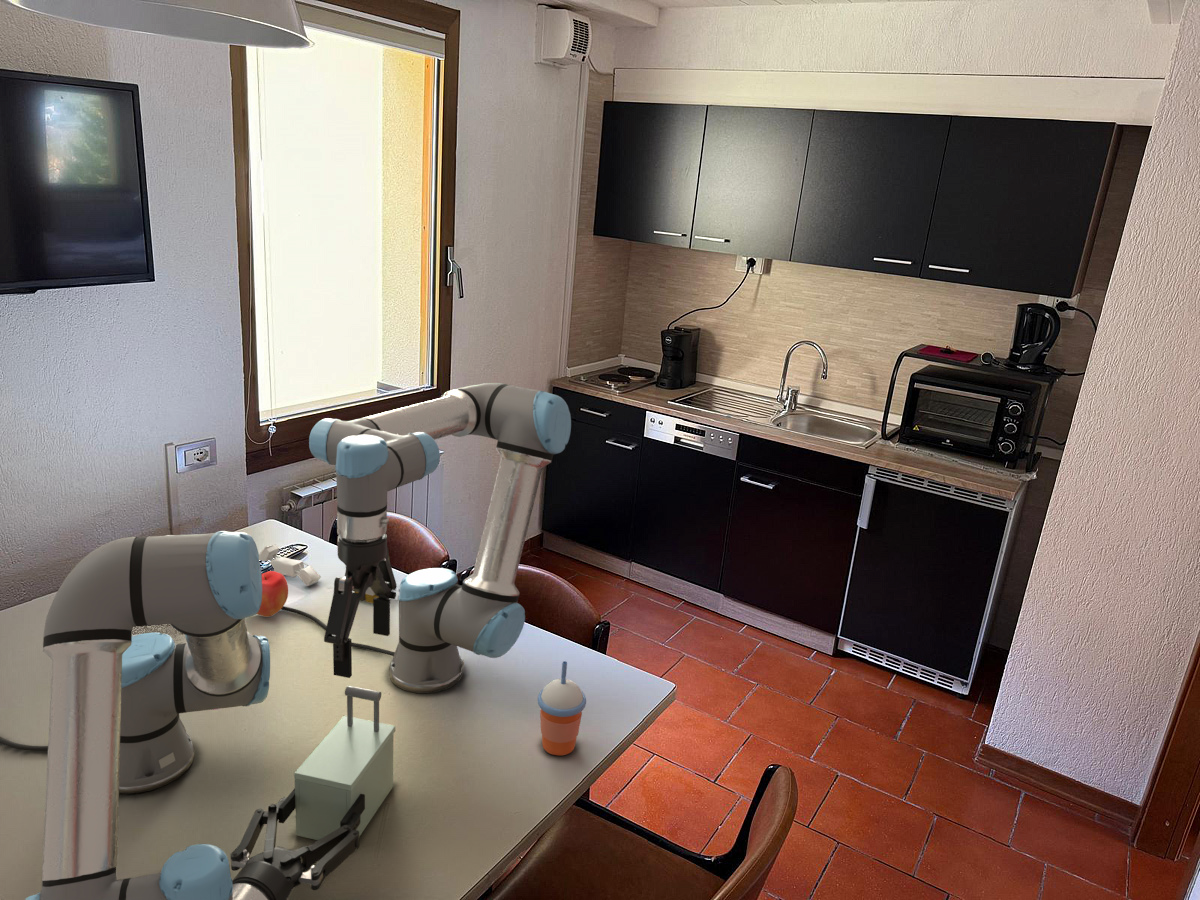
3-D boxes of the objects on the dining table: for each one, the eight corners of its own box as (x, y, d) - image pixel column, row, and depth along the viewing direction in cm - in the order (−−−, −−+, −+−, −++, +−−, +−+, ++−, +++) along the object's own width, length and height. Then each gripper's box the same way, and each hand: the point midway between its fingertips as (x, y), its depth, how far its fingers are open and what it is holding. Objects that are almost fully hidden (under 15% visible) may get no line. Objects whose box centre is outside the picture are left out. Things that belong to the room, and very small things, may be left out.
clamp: (253, 565, 223) (254, 542, 221) (265, 560, 226) (266, 537, 224) (309, 593, 215) (310, 569, 213) (320, 588, 218) (321, 564, 216)
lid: (343, 720, 148) (343, 676, 145) (395, 731, 146) (396, 687, 143) (294, 778, 133) (292, 731, 130) (351, 791, 131) (350, 743, 128)
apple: (273, 600, 207) (272, 562, 204) (297, 613, 202) (296, 575, 199) (237, 614, 200) (234, 575, 197) (261, 628, 194) (259, 588, 191)
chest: (342, 775, 150) (341, 723, 147) (393, 786, 148) (393, 734, 145) (296, 835, 136) (294, 778, 133) (351, 848, 134) (351, 791, 131)
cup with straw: (576, 765, 157) (583, 680, 152) (528, 755, 159) (534, 670, 154) (587, 736, 166) (594, 654, 161) (541, 727, 167) (547, 646, 162)
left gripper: (178, 906, 118) (270, 799, 139) (326, 944, 114) (397, 828, 135) (174, 862, 116) (268, 760, 137) (325, 899, 112) (398, 789, 133)
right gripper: (345, 570, 121) (347, 699, 128) (417, 510, 145) (415, 622, 151) (297, 562, 123) (301, 690, 129) (376, 504, 146) (376, 615, 152)
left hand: (332, 794), depth 136 cm, fingers closed on chest, 10 cm apart
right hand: (363, 653), depth 140 cm, fingers open, 13 cm apart
